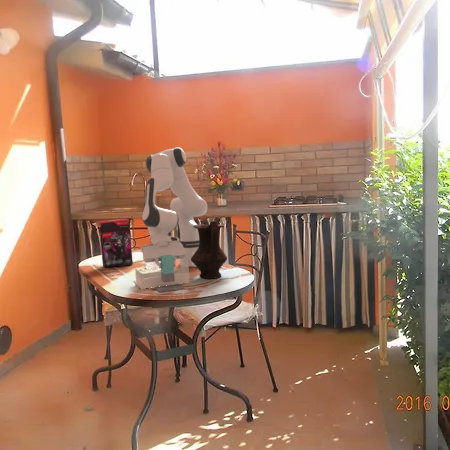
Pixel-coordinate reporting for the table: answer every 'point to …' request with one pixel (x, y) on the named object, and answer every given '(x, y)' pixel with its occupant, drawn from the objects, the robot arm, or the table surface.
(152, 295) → the table surface
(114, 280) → the table surface
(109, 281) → the table surface
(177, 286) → the slate mat
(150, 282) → the carton
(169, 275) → the teal box
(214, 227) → the jug
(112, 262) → the graphics card box
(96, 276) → the table surface
